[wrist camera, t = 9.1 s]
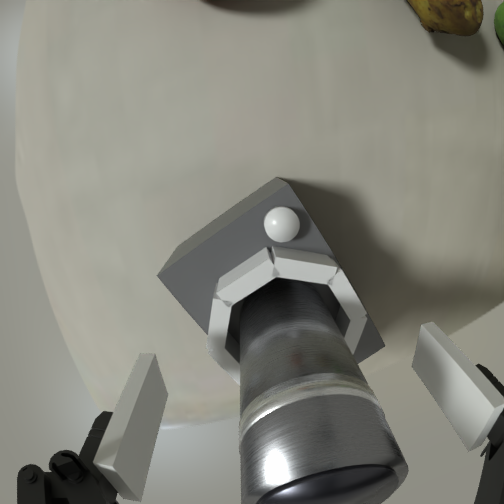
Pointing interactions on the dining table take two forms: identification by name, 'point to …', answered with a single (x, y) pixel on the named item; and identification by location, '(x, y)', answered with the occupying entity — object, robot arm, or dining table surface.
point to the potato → (450, 15)
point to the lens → (308, 407)
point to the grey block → (261, 272)
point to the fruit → (500, 22)
